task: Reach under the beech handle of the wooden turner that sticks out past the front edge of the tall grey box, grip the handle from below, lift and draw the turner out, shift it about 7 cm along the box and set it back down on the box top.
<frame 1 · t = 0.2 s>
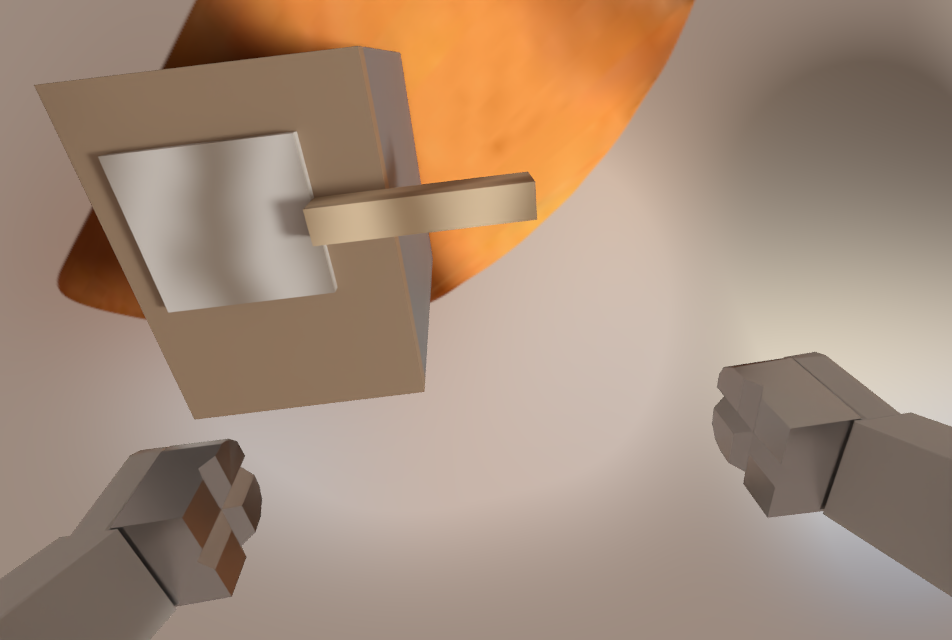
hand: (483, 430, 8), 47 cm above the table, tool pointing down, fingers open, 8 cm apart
grey box: (342, 174, 52), on the table
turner: (248, 223, 28), point 26 cm above the table, touching grey box
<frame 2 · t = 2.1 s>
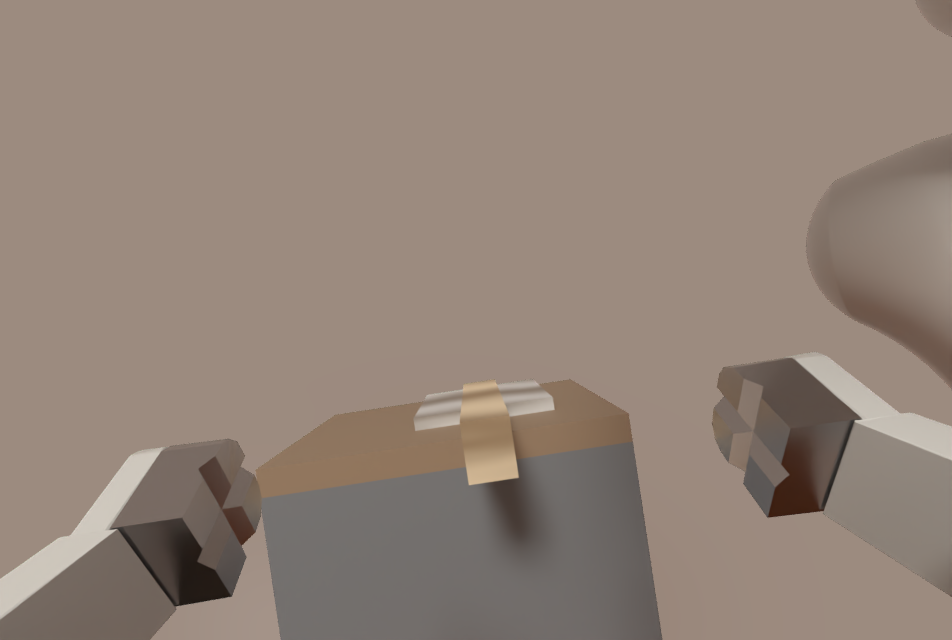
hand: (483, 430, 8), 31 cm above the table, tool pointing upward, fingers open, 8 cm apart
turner: (483, 409, 35), point 26 cm above the table, touching grey box
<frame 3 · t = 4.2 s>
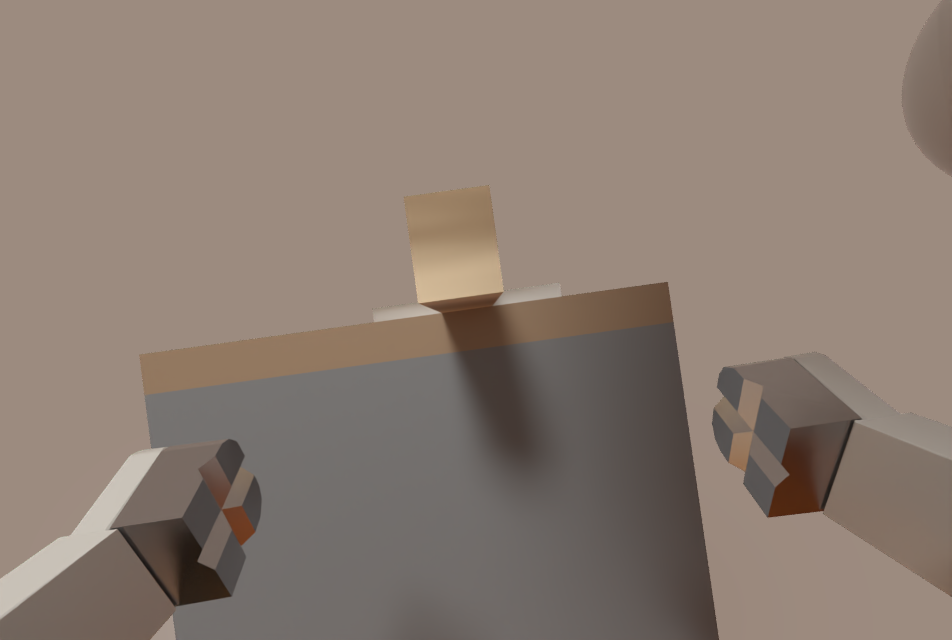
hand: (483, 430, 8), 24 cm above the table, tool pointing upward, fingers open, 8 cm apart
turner: (469, 314, 27), point 26 cm above the table, touching grey box
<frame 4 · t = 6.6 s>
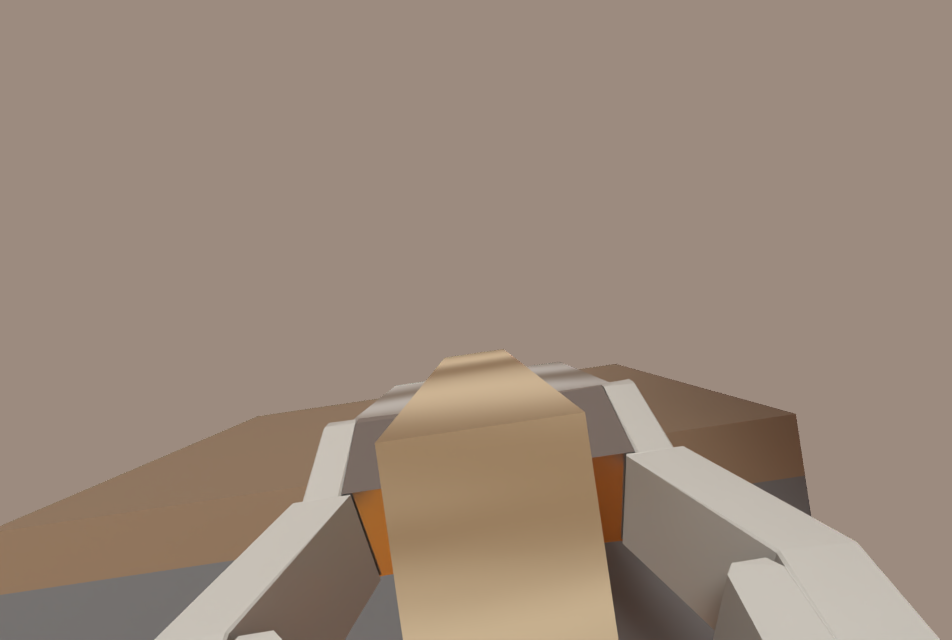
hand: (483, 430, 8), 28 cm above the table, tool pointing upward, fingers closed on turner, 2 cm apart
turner: (482, 406, 21), point 26 cm above the table, touching gripper, grey box
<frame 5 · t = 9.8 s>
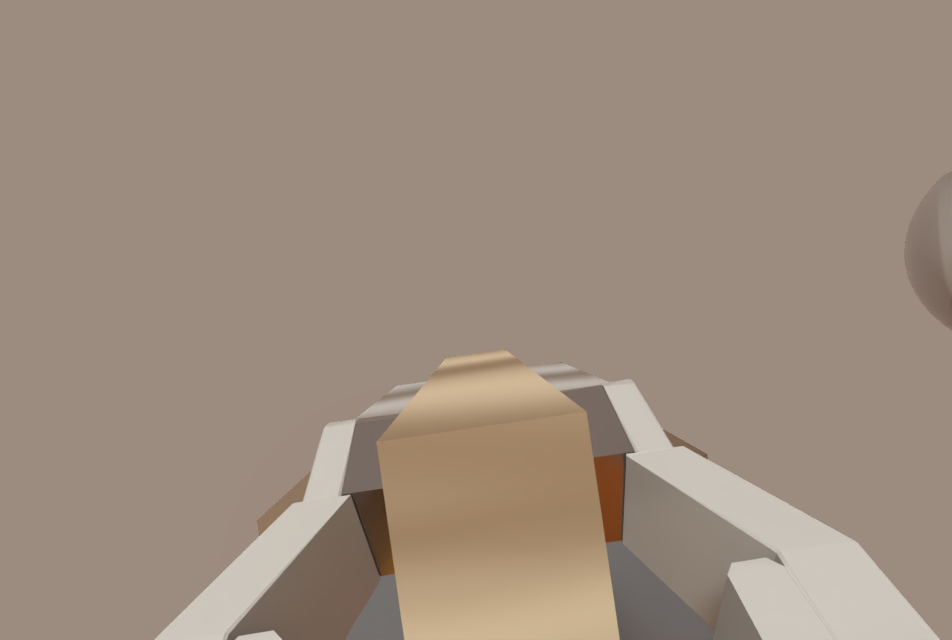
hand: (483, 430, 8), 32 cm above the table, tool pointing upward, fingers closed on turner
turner: (483, 407, 21), point 30 cm above the table, touching gripper
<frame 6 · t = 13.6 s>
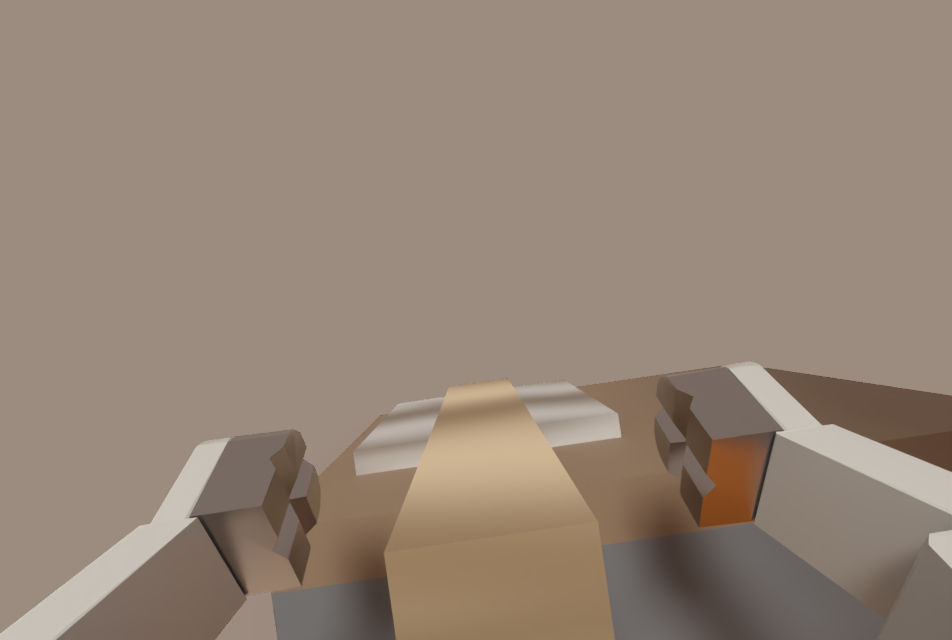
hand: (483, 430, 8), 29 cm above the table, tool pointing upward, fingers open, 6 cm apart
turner: (486, 430, 21), point 26 cm above the table, touching grey box
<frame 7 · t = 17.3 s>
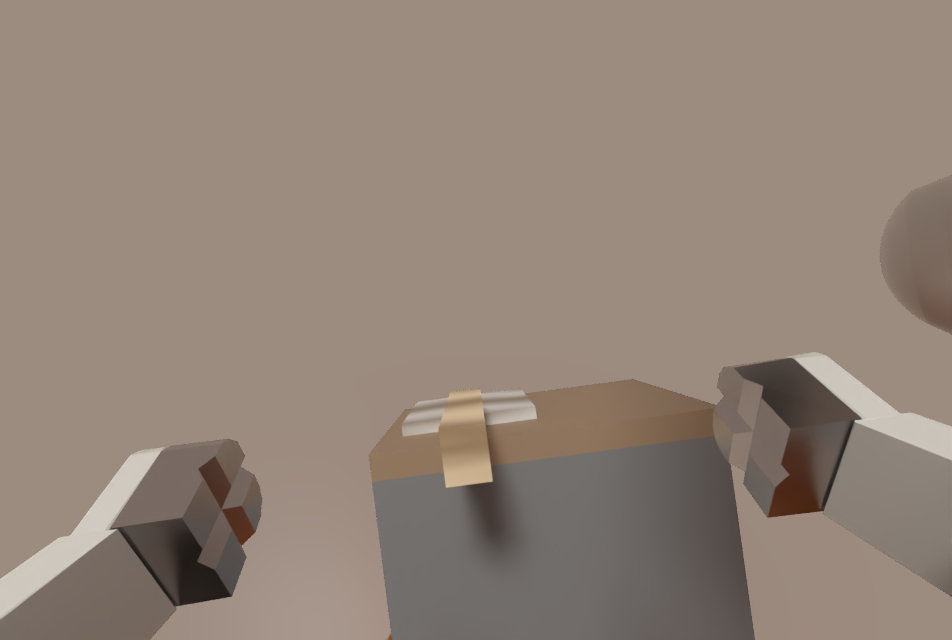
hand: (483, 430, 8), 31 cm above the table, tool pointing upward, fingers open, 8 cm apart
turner: (470, 416, 37), point 26 cm above the table, touching grey box
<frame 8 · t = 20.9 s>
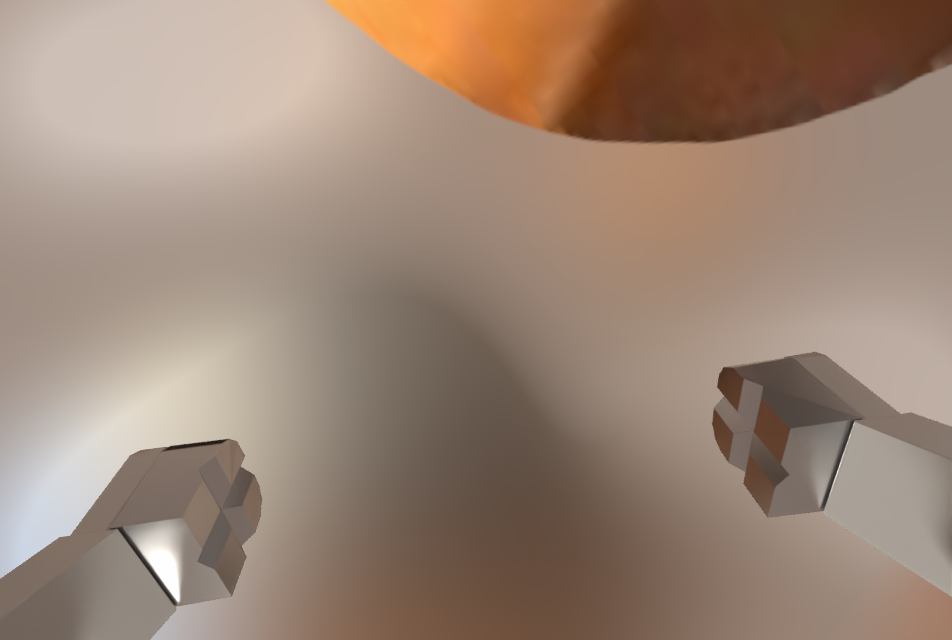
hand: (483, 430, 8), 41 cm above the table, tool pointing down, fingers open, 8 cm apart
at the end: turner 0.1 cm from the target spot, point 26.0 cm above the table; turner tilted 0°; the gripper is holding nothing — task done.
